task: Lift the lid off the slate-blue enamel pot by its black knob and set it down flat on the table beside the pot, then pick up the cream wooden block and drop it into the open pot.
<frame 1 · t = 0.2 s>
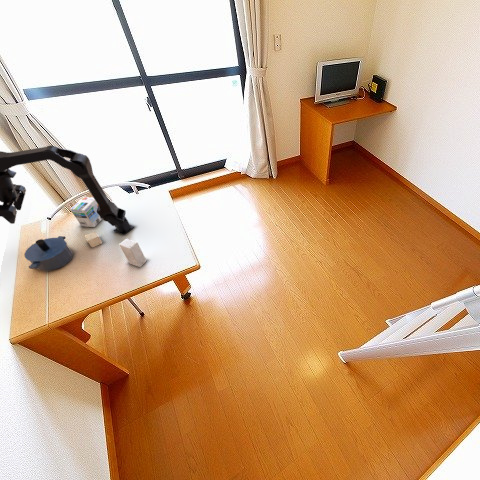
hand: (15, 216, 117), 15 cm above the table, tool pointing down, fingers open, 9 cm apart
block: (95, 242, 131), on the table
light bulb box: (94, 220, 141), on the table
lid: (46, 249, 117), point 6 cm above the table, touching pot
cosmetic box: (138, 262, 125), on the table
pot: (55, 259, 121), on the table
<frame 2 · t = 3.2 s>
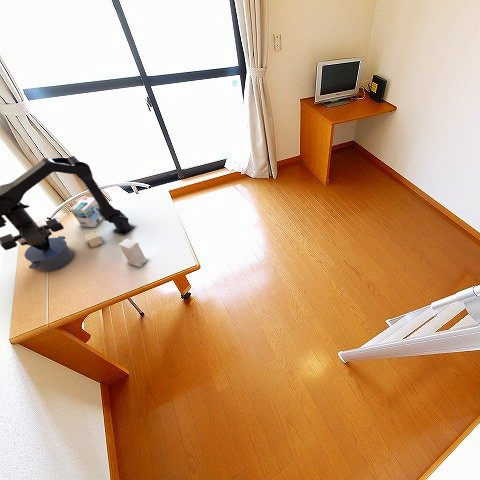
hand: (44, 247, 116), 8 cm above the table, tool pointing down, fingers closed on lid, 3 cm apart
lid: (46, 249, 117), point 6 cm above the table, touching gripper, pot
everything else where it was.
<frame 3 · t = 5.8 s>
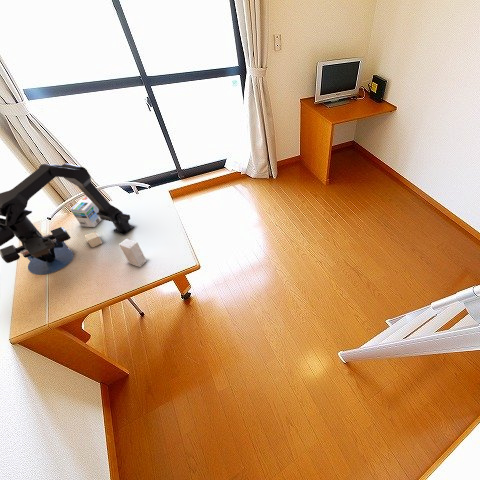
hand: (49, 259, 107), 12 cm above the table, tool pointing down, fingers closed on lid, 3 cm apart
lid: (51, 261, 108), point 11 cm above the table, touching gripper
everything else where it was.
when the fingers open (2 cm above the table, at t = 8.4 s): lid stays where it is, point 1 cm above the table.
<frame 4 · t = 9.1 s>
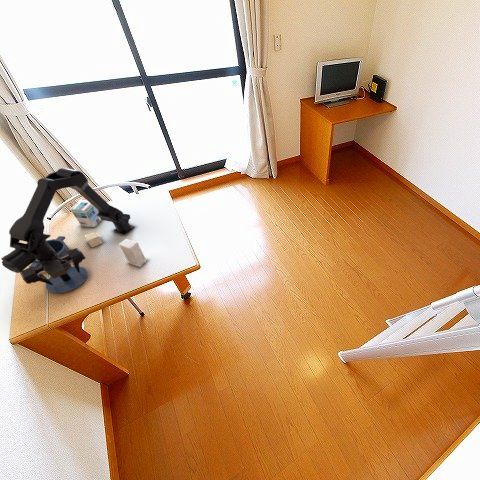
hand: (65, 278, 113), 2 cm above the table, tool pointing down, fingers open, 9 cm apart
lid: (67, 279, 114), point 1 cm above the table
everything else where it was.
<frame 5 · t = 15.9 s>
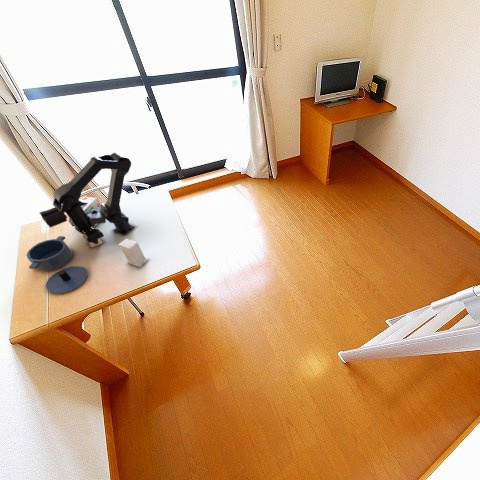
hand: (94, 241, 130), 1 cm above the table, tool pointing down, fingers closed on block, 4 cm apart
block: (95, 242, 131), on the table, touching gripper
everything else where it was.
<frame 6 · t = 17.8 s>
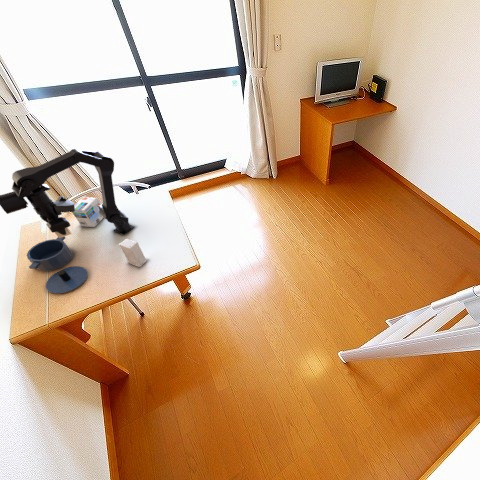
hand: (62, 231, 118), 12 cm above the table, tool pointing down, fingers closed on block, 4 cm apart
block: (63, 233, 119), point 11 cm above the table, touching gripper
everything else where it was.
when the fingers open (8 cm above the table, at t = 20.2 s): block drops 7 cm, resting on pot.
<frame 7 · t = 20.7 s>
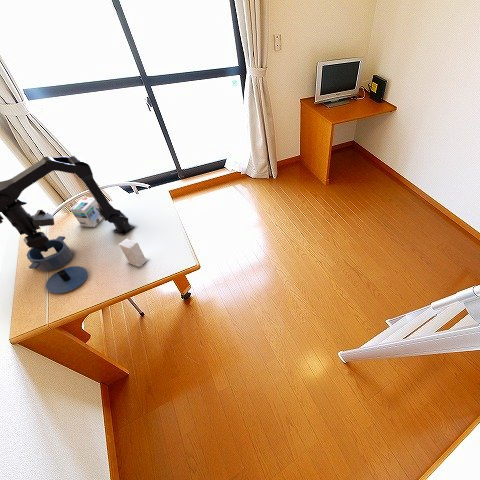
hand: (42, 245, 115), 9 cm above the table, tool pointing down, fingers open, 9 cm apart
block: (54, 259, 121), resting on pot
everything else where it was.
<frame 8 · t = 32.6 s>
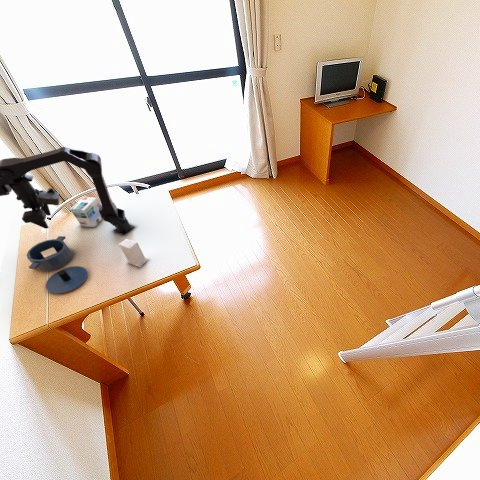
hand: (48, 221, 120), 13 cm above the table, tool pointing down, fingers open, 9 cm apart
nothing on the table moved.
at the end: lid inside the target area (0.1 cm from its centre), point 0.6 cm above the table; lid tilted 0°; block inside the target area in the pot (0.0 cm from its centre), point 0.4 cm above the pot's base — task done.
